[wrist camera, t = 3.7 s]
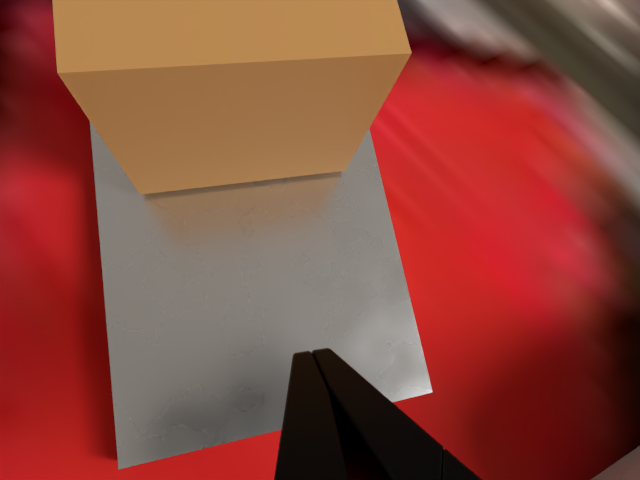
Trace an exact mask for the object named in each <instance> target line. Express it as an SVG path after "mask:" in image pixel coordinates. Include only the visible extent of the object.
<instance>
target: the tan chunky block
mask: <svg viewBox="0 0 640 480" xmlns="http://www.w3.org/2000/svg"><path fill="white" fill-rule="evenodd" d="M52 1H53V16H54V32H55V47H56V62H57V74H58V75H59V77H60V78H61V79H62V81H63V82H64V84H65V85H66V87H67V88H68V90H69V91H70V93H71V94H72V96H73V97H74V99H75V100H76V101H77V103H78V104H79V106H80V107H81V109H82V110H83V112H84V113H85V115H86V116H87V118H88V119H89V121H90V122H91V123H92V125H93V126H94V128H95V129H96V131H97V132H98V134H99V135H100V137H101V138H102V140H103V141H104V143H105V144H106V145H107V147H108V148H109V150H110V151H111V153H112V154H113V156H114V157H115V159H116V160H117V162H118V163H119V165H120V166H121V167H122V169H123V170H124V172H125V173H126V175H127V176H128V178H129V179H130V181H131V182H132V184H133V185H134V187H135V188H136V189H137V191H138V192H139V194H140V195H142V194H150V193H159V192H167V191H176V190H185V189H193V188H202V187H210V186H219V185H227V184H236V183H245V182H253V181H262V180H270V179H279V178H287V177H296V176H305V175H313V174H322V173H330V172H339V171H345V170H346V168H347V167H348V165H349V163H350V161H351V160H352V158H353V156H354V154H355V152H356V151H357V149H358V147H359V145H360V144H361V142H362V140H363V138H364V137H365V135H366V133H367V131H368V129H369V128H370V126H371V124H372V122H373V121H374V119H375V117H376V115H377V114H378V112H379V110H380V108H381V106H382V105H383V103H384V101H385V99H386V98H387V96H388V94H389V92H390V91H391V89H392V87H393V85H394V83H395V82H396V80H397V78H398V76H399V75H400V73H401V71H402V69H403V68H404V66H405V64H406V62H407V60H408V59H409V57H410V55H411V49H410V46H409V42H408V39H407V35H406V31H405V28H404V24H403V20H402V17H401V13H400V10H399V6H398V2H397V0H52Z"/></svg>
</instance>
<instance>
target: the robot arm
mask: <svg viewBox="0 0 640 480" xmlns="http://www.w3.org/2000/svg"><path fill="white" fill-rule="evenodd" d="M274 480H482V479H481V478H480V477H478V476H477V475H476V474H475V473H474V472H472V471H471V470H470V469H469V468H468V467H466V466H465V465H464V464H463V463H461V462H460V461H459V460H458V459H457V458H456V457H455V456H453V455H452V454H451V453H450V452H449V451H448V450H446V449H444V450H443V446H442V445H441V444H439V443H438V442H437V441H436V440H435V439H434V438H433V437H431V436H430V435H429V434H428V433H427V432H426V431H424V430H423V429H422V428H421V427H420V426H419V425H418V424H416V423H415V422H414V421H413V420H412V419H411V418H410V417H408V416H407V415H406V414H405V413H404V412H403V411H401V410H400V409H399V408H398V407H397V406H396V405H395V404H393V403H392V402H391V401H390V400H389V399H388V398H387V397H385V396H384V395H383V394H382V393H381V392H380V391H379V390H377V389H376V388H375V387H374V386H373V385H372V384H370V383H369V382H368V381H367V380H366V379H365V378H364V377H362V376H361V375H360V374H359V373H358V372H357V371H356V370H354V369H353V368H352V367H351V366H350V365H349V364H348V363H346V362H345V361H344V360H343V359H342V358H341V357H339V356H338V355H337V354H336V353H335V352H334V351H333V350H331V349H330V348H322V349H316V350H313V351H312V352H310V351H303V352H297V353H294V354H293V357H292V363H291V370H290V377H289V383H288V390H287V397H286V403H285V410H284V417H283V423H282V430H281V437H280V443H279V450H278V457H277V463H276V470H275V477H274Z"/></svg>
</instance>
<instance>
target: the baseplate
mask: <svg viewBox="0 0 640 480" xmlns="http://www.w3.org/2000/svg"><path fill="white" fill-rule="evenodd" d="M90 130H91V142H92V154H93V166H94V178H95V191H96V203H97V215H98V227H99V239H100V251H101V263H102V275H103V287H104V299H105V312H106V324H107V336H108V348H109V360H110V372H111V384H112V396H113V408H114V421H115V433H116V445H117V457H118V469H123V468H127V467H131V466H135V465H139V464H143V463H147V462H151V461H155V460H159V459H164V458H168V457H172V456H176V455H180V454H184V453H188V452H192V451H196V450H200V449H204V448H208V447H212V446H216V445H220V444H225V443H229V442H233V441H237V440H241V439H245V438H249V437H253V436H257V435H261V434H265V433H269V432H273V431H277V430H282V423H283V417H284V410H285V403H286V397H287V390H288V383H289V377H290V370H291V363H292V357H293V354H294V353H297V352H303V351H310V352H312V351H313V350H316V349H322V348H330V349H331V350H333V351H334V352H335V353H336V354H337V355H338V356H339V357H341V358H342V359H343V360H344V361H345V362H346V363H348V364H349V365H350V366H351V367H352V368H353V369H354V370H356V371H357V372H358V373H359V374H360V375H361V376H362V377H364V378H365V379H366V380H367V381H368V382H369V383H370V384H372V385H373V386H374V387H375V388H376V389H377V390H379V391H380V392H381V393H382V394H383V395H384V396H385V397H387V398H388V399H389V400H390V401H391V402H396V401H400V400H404V399H408V398H412V397H416V396H420V395H424V394H428V393H432V392H433V391H432V387H431V383H430V379H429V375H428V371H427V366H426V362H425V358H424V354H423V350H422V346H421V342H420V337H419V333H418V329H417V325H416V321H415V317H414V312H413V308H412V304H411V300H410V296H409V292H408V288H407V283H406V279H405V275H404V271H403V267H402V263H401V258H400V254H399V250H398V246H397V242H396V238H395V234H394V229H393V225H392V221H391V217H390V213H389V209H388V204H387V200H386V196H385V192H384V188H383V184H382V180H381V175H380V171H379V167H378V163H377V159H376V155H375V150H374V146H373V142H372V138H371V134H370V130H369V129H368V131H367V133H366V135H365V137H364V138H363V140H362V142H361V144H360V145H359V147H358V149H357V151H356V152H355V154H354V156H353V158H352V160H351V161H350V163H349V165H348V167H347V168H346V170H345V171H339V172H330V173H322V174H313V175H305V176H296V177H287V178H279V179H270V180H262V181H253V182H245V183H236V184H227V185H219V186H210V187H202V188H193V189H185V190H176V191H167V192H159V193H150V194H142V195H140V194H139V192H138V191H137V189H136V188H135V187H134V185H133V184H132V182H131V181H130V179H129V178H128V176H127V175H126V173H125V172H124V170H123V169H122V167H121V166H120V165H119V163H118V162H117V160H116V159H115V157H114V156H113V154H112V153H111V151H110V150H109V148H108V147H107V145H106V144H105V143H104V141H103V140H102V138H101V137H100V135H99V134H98V132H97V131H96V129H95V128H94V126H93V125H92V123H91V122H90Z"/></svg>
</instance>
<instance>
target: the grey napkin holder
mask: <svg viewBox="0 0 640 480" xmlns="http://www.w3.org/2000/svg"><path fill="white" fill-rule="evenodd" d="M591 480H640V446H638V447H637V448H636V449H634V450H633V451H631V452H630V453H628V454H627V455H626V456H624V457H623V458H621V459H620V460H618V461H617V462H615V463H614V464H613V465H611V466H610V467H608V468H607V469H605V470H604V471H603V472H601V473H600V474H598V475H597V476H595V477H594V478H592V479H591Z"/></svg>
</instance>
